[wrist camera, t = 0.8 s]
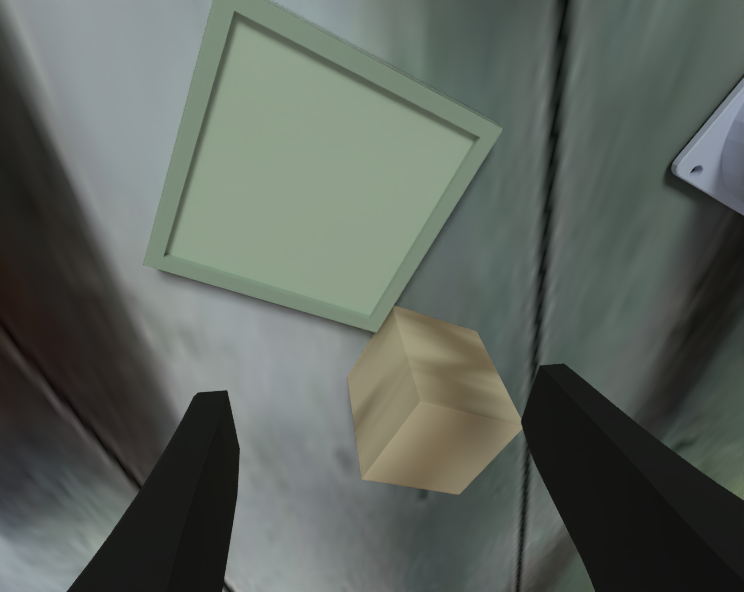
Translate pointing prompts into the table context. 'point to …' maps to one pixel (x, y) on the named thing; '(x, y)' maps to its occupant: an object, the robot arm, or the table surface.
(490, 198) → the table surface
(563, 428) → the robot arm
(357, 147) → the tray
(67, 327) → the table surface
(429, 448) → the maple block
